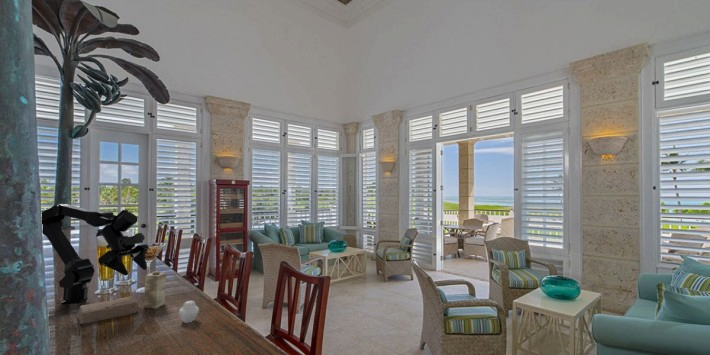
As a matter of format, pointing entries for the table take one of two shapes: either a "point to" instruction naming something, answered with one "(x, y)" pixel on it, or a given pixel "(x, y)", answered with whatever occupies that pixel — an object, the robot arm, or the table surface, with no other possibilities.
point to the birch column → (154, 290)
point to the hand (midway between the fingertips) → (136, 272)
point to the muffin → (188, 311)
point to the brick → (107, 309)
